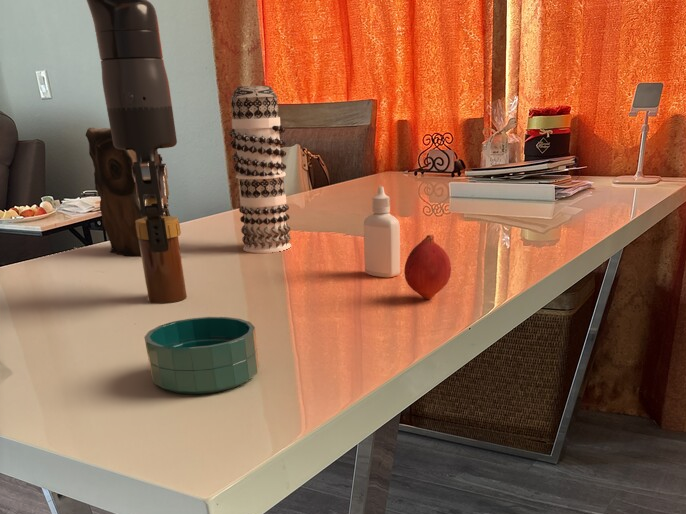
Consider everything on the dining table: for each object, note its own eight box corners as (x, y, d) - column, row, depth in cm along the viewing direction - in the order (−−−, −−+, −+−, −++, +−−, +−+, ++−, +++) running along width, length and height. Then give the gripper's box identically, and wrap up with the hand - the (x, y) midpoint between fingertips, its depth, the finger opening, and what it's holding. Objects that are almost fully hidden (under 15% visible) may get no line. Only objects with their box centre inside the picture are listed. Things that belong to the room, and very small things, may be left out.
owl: (155, 257, 121) (133, 126, 112) (85, 258, 123) (58, 129, 113) (181, 243, 132) (163, 123, 123) (117, 244, 134) (94, 125, 124)
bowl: (141, 399, 64) (132, 351, 62) (166, 361, 73) (158, 318, 71) (253, 395, 64) (247, 346, 62) (263, 358, 73) (259, 314, 71)
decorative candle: (276, 241, 131) (262, 86, 119) (303, 248, 125) (293, 84, 113) (231, 248, 126) (213, 87, 114) (258, 255, 120) (242, 86, 108)
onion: (402, 305, 89) (402, 238, 85) (406, 293, 94) (406, 230, 90) (449, 305, 88) (451, 238, 85) (450, 293, 93) (452, 229, 90)
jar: (146, 304, 94) (132, 226, 89) (151, 295, 98) (139, 220, 93) (184, 302, 94) (173, 224, 89) (188, 293, 98) (177, 218, 94)
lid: (185, 236, 91) (183, 219, 90) (144, 241, 89) (141, 224, 88) (172, 231, 95) (170, 214, 94) (133, 235, 93) (130, 219, 92)
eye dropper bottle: (373, 279, 102) (371, 189, 96) (362, 271, 106) (360, 185, 101) (402, 277, 103) (402, 187, 97) (390, 269, 107) (389, 183, 102)
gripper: (169, 103, 79) (190, 253, 87) (173, 102, 91) (191, 234, 99) (99, 105, 78) (127, 258, 86) (112, 104, 90) (136, 238, 98)
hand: (161, 245), depth 92 cm, fingers open, 8 cm apart
